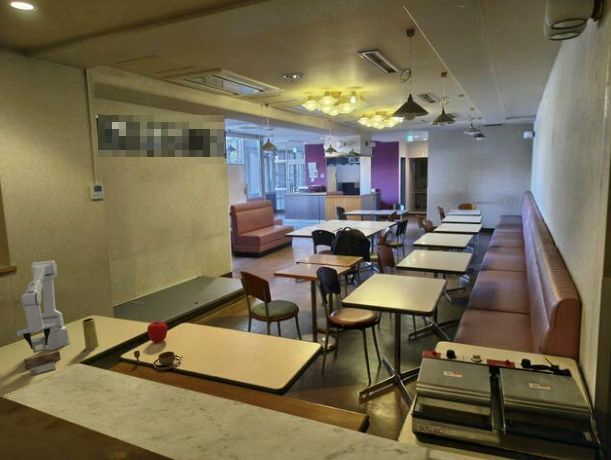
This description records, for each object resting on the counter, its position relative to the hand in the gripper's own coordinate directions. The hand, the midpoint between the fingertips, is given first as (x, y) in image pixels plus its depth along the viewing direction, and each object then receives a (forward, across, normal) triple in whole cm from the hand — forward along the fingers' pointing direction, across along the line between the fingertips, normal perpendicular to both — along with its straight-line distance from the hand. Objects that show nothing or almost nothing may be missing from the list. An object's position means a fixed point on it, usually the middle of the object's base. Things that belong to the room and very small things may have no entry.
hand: (39, 346), depth 192 cm
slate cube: (+2, 0, 0) cm, 2 cm away
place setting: (+10, +46, -32) cm, 57 cm away
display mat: (+9, 0, -4) cm, 10 cm away
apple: (+9, +50, -9) cm, 52 cm away
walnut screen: (+9, 0, +2) cm, 9 cm away
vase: (+9, +21, +7) cm, 24 cm away
